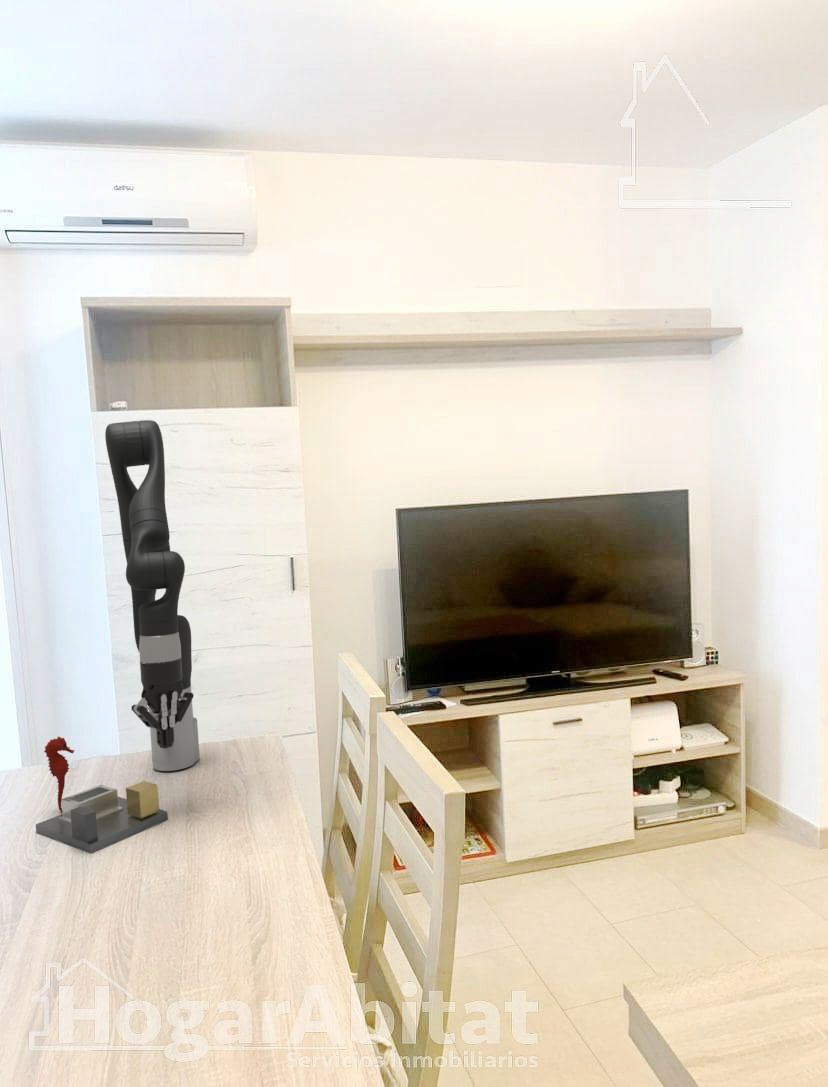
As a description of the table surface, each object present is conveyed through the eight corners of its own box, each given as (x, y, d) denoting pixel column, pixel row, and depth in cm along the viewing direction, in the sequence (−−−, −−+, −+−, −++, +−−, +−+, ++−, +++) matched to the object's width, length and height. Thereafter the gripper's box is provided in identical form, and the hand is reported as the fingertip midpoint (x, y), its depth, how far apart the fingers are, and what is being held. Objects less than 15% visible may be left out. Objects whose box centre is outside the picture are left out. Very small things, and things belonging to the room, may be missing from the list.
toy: (80, 811, 158) (74, 735, 157) (49, 817, 155) (43, 740, 154) (78, 807, 160) (72, 732, 159) (48, 813, 157) (42, 737, 156)
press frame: (113, 802, 162) (110, 770, 161) (167, 819, 152) (165, 785, 151) (36, 832, 149) (33, 797, 148) (90, 853, 139) (87, 816, 138)
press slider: (145, 806, 154) (144, 780, 154) (159, 810, 152) (157, 784, 151) (127, 814, 151) (125, 787, 150) (141, 818, 148) (139, 791, 148)
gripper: (176, 649, 162) (181, 735, 163) (118, 661, 151) (123, 753, 152) (201, 652, 157) (206, 740, 158) (142, 665, 147) (148, 760, 148)
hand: (165, 747), depth 155 cm, fingers closed
